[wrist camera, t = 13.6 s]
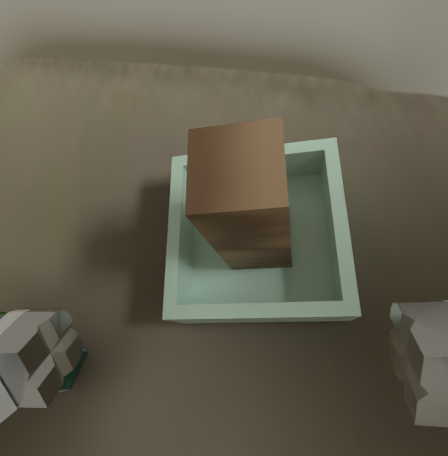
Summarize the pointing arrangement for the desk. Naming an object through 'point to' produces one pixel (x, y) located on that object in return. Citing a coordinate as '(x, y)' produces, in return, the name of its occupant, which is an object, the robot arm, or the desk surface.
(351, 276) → the tray
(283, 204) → the walnut block
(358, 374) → the desk surface
